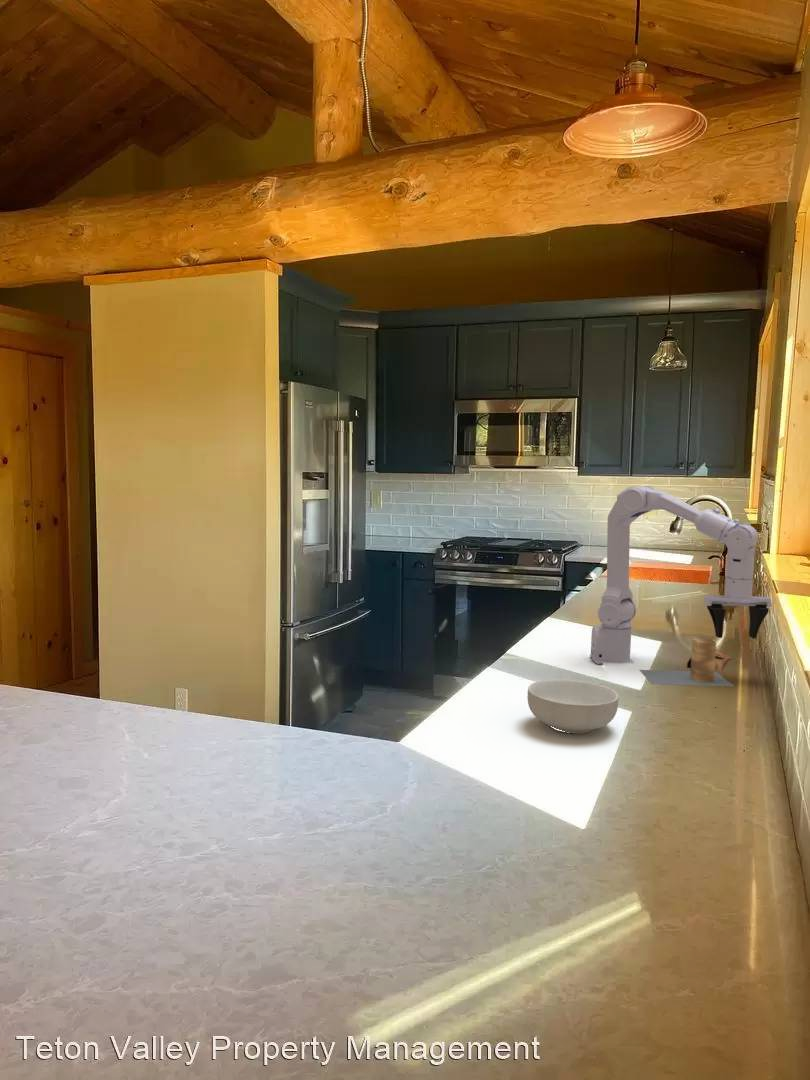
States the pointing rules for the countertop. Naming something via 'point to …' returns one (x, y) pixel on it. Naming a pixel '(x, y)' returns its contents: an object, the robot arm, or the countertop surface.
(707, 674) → the oak block
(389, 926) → the countertop surface
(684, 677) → the slate mat
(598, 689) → the cereal bowl
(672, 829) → the countertop surface
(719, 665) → the sunglasses case
